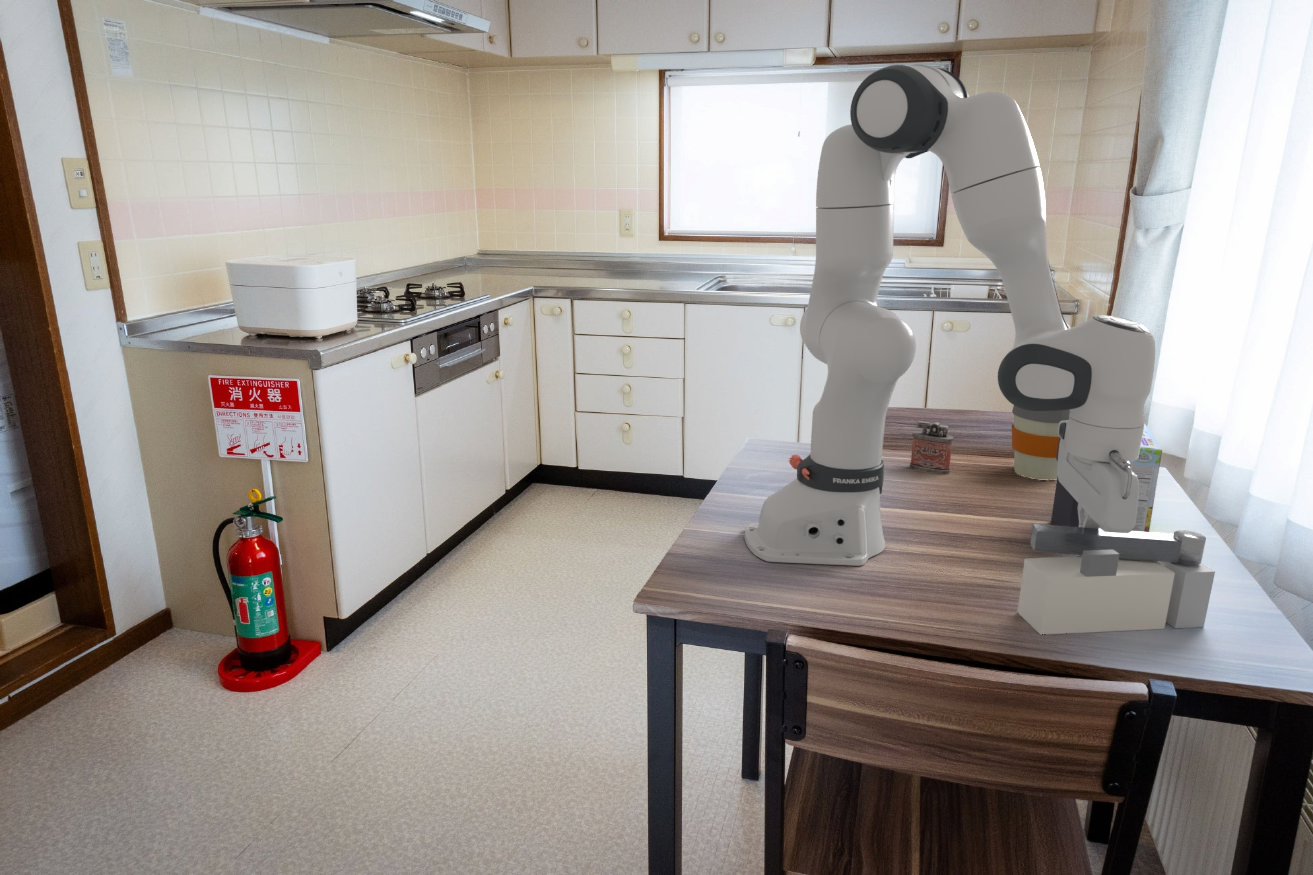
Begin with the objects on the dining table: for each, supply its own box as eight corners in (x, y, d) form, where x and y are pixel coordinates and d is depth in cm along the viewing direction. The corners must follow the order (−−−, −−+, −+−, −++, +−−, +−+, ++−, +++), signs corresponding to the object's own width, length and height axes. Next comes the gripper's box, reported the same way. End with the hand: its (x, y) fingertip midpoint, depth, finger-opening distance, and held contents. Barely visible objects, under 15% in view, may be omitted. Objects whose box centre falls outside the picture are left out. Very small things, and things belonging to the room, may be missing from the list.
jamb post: (1175, 628, 112) (1185, 572, 110) (1146, 606, 118) (1155, 553, 116) (1203, 626, 113) (1215, 571, 111) (1173, 605, 119) (1183, 552, 116)
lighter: (951, 471, 174) (956, 423, 171) (947, 475, 171) (952, 427, 168) (912, 464, 178) (916, 418, 175) (907, 468, 175) (911, 421, 172)
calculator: (1091, 547, 137) (1105, 459, 133) (1062, 545, 138) (1075, 457, 134) (1073, 522, 148) (1086, 439, 143) (1047, 520, 148) (1058, 437, 144)
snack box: (1098, 490, 163) (1110, 414, 159) (1131, 494, 161) (1144, 416, 157) (1113, 531, 144) (1127, 445, 140) (1151, 536, 142) (1166, 449, 138)
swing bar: (1194, 555, 114) (1199, 531, 114) (1205, 566, 111) (1210, 542, 110) (1029, 542, 118) (1032, 519, 117) (1035, 553, 115) (1038, 529, 114)
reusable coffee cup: (1004, 460, 180) (1013, 391, 176) (1070, 467, 176) (1081, 396, 172) (1004, 479, 169) (1013, 405, 165) (1074, 487, 165) (1086, 411, 160)
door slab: (1040, 634, 111) (1051, 556, 108) (1017, 612, 117) (1027, 537, 113) (1164, 628, 112) (1179, 551, 109) (1135, 607, 118) (1148, 533, 115)
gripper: (1160, 467, 103) (1141, 572, 107) (1101, 421, 122) (1086, 511, 126) (1105, 464, 104) (1087, 568, 108) (1055, 419, 123) (1041, 508, 127)
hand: (1086, 537), depth 117 cm, fingers closed
